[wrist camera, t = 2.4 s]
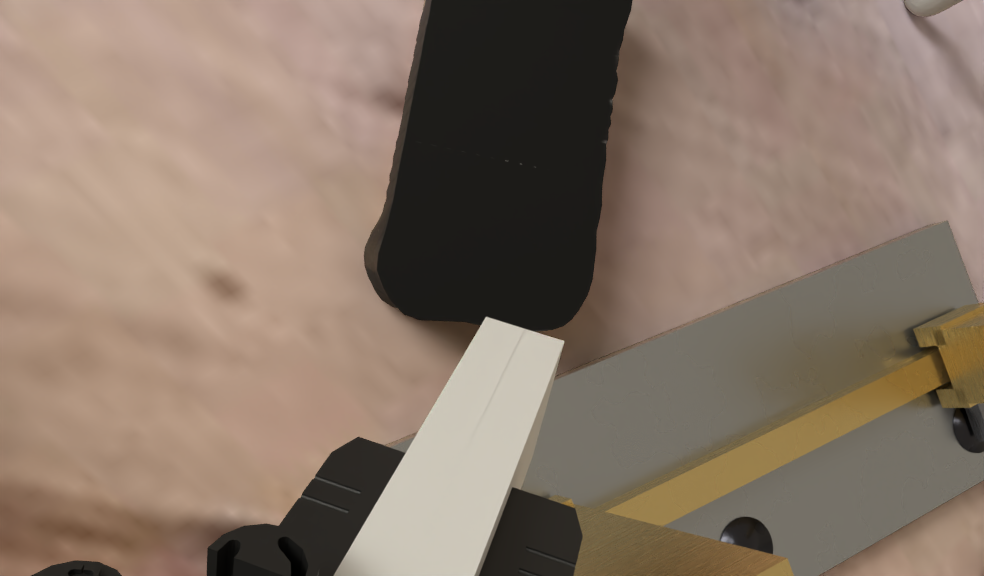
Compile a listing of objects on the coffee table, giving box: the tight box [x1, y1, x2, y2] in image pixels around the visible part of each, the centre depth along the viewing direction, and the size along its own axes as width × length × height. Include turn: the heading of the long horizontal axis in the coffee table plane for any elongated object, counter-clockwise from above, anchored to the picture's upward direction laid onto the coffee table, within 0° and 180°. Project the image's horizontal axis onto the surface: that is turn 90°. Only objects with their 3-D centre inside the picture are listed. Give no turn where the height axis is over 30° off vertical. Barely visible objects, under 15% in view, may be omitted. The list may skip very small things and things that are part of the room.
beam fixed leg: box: [594, 303, 984, 526], centre depth 28 cm, size 6×27×15 cm, turn 111°
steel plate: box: [385, 221, 984, 576], centre depth 36 cm, size 12×30×1 cm, turn 111°
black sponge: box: [364, 0, 632, 331], centre depth 33 cm, size 16×8×4 cm, turn 170°
